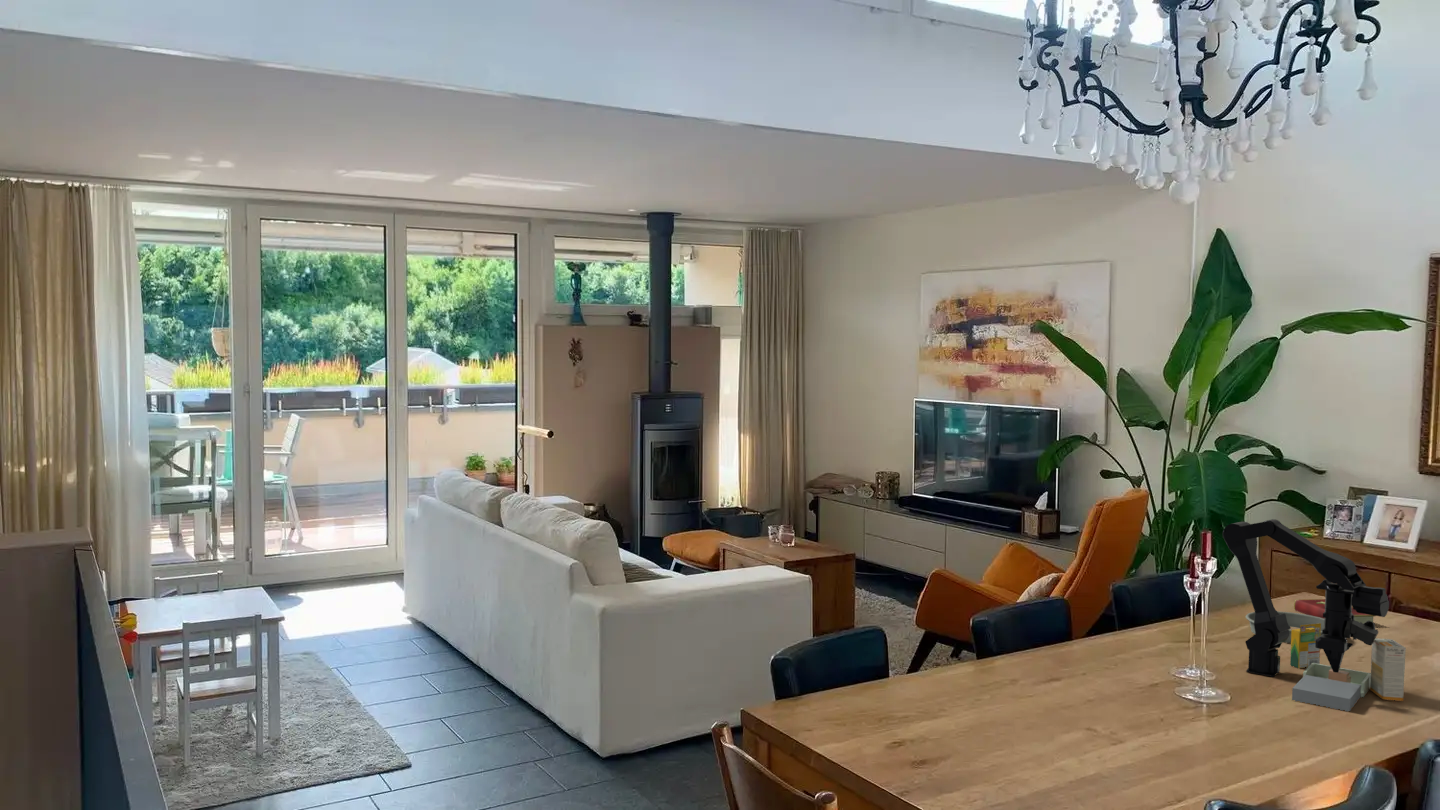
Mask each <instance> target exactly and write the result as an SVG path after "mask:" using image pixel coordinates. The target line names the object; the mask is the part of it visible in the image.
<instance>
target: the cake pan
mask: <svg viewBox="0 0 1440 810" xmlns="http://www.w3.org/2000/svg"><path fill="white" fill-rule="evenodd" d="M1276 611H1277V610H1276ZM1277 612H1278V613H1279V614H1283V613H1285V615H1286V618H1287V623H1288V625H1289V626H1290V628H1295V629H1300V625H1306V624H1317V623H1321V633H1320V636H1321V635H1323V634H1322V630H1323V629H1324V620H1325V619H1323V618H1320V617H1315V616H1311V615H1306V614H1303V613H1300V612H1298V613H1297V612H1290V611H1279V610H1278V611H1277ZM1254 618H1255V611H1252V612H1249V613H1247V614H1246V615H1245V619H1246V620H1248V621H1249V626H1250V631H1251V633H1253V634H1254V635H1255V628H1254ZM1306 628H1315V626H1309V627H1306ZM1291 630H1293V629H1289V637H1288V638H1287V640H1286V641H1285V642H1284V643H1287V644H1291ZM1324 635H1327V634H1324Z"/></svg>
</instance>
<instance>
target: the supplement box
mask: <svg viewBox="0 0 1440 810" xmlns="http://www.w3.org/2000/svg"><path fill="white" fill-rule="evenodd" d="M1406 651H1407V649H1406V647H1405V646H1404V645H1402V644H1400V643H1399V642H1397V641H1396V640H1394V639H1390V638H1377V637H1376V638H1375V640H1374V642H1373V644H1372V645H1371V658H1370V659H1371V661H1370V673H1371V678H1370V689H1369V691H1371V692H1373V693H1374V694H1375V695H1376V696H1378V697H1379V698H1380V699H1382V700H1385V701H1394V700H1395V701H1398V702H1404V695H1405V694H1404V691H1405V671H1406V653H1407V652H1406Z"/></svg>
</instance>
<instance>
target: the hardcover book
mask: <svg viewBox="0 0 1440 810" xmlns="http://www.w3.org/2000/svg"><path fill="white" fill-rule="evenodd" d="M1293 611H1295V612H1298V613H1300V614H1305V615H1311V616H1315V617H1320V618H1323V619H1325V618H1324V617H1323V613H1324V612H1325V598H1314V599H1313V598H1312V599H1310V598H1307V599H1306V598H1305V599H1303V598H1302V599H1301V598H1299V599H1296V598H1295V600H1294V604H1293ZM1352 614H1353V615H1354V620H1355V621H1357V622H1362V624H1364V623H1365V622H1367V621H1368V620H1369V621H1371V622H1374V617H1375V616H1374V615H1368V614H1362V613H1357V612H1356V610H1354V609H1353V607H1352Z"/></svg>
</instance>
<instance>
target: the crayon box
mask: <svg viewBox="0 0 1440 810" xmlns="http://www.w3.org/2000/svg"><path fill="white" fill-rule="evenodd" d="M1309 626H1315V628H1306V627H1309ZM1320 633H1321V623H1317V624H1306V625H1300V628H1294V629H1292V630H1291V643H1290V662H1289V663H1290V665H1291V666H1290V667H1293V666H1294V667H1293V668H1297V669H1298V668H1300V669H1303V668H1304V669H1306V668H1308V667H1309V666H1310V665H1311V664H1312V663H1317V664H1321V663H1320V662H1321V649H1319V648H1316V647H1315V643H1316V639H1317V638H1318V637H1320ZM1305 667H1306V668H1305Z"/></svg>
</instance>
